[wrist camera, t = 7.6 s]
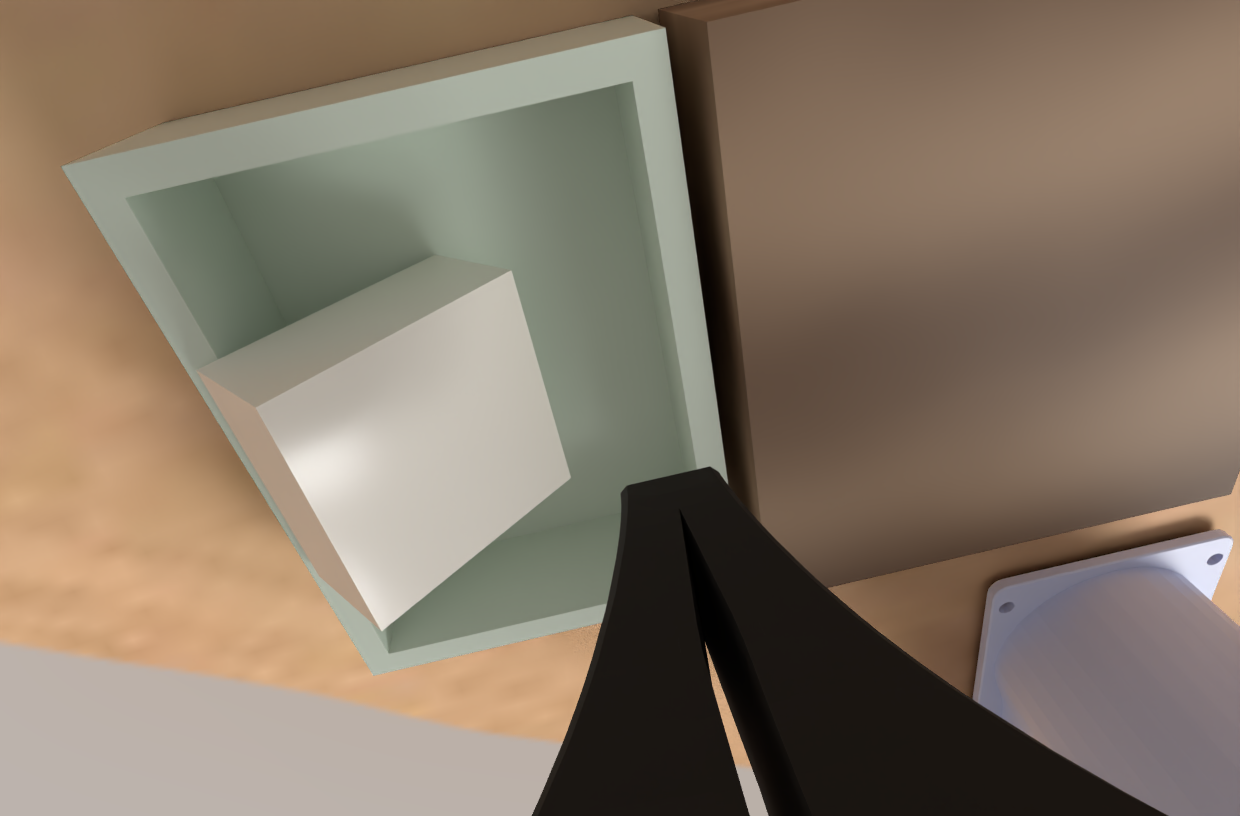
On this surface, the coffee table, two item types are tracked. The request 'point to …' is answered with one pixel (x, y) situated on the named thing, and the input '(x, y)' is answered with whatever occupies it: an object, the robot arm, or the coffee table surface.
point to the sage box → (466, 230)
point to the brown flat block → (964, 264)
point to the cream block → (398, 428)
